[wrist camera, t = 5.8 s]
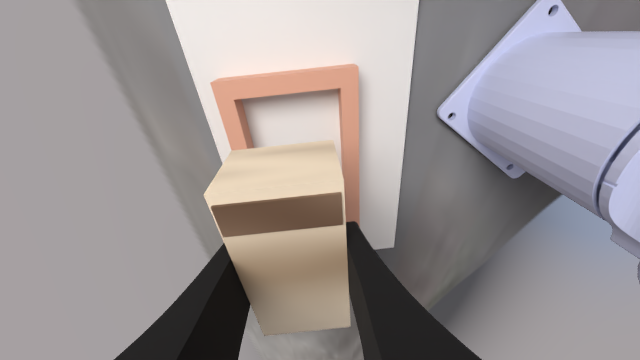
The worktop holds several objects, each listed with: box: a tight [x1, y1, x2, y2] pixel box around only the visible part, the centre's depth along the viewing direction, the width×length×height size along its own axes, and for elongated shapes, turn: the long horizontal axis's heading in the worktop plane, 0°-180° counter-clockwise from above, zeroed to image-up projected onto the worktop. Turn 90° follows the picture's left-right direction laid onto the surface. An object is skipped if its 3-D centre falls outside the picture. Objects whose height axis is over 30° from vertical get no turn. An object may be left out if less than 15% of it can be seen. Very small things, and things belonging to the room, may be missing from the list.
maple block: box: [204, 140, 351, 336], centre depth 10 cm, size 8×4×3 cm, turn 5°
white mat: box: [166, 0, 419, 250], centre depth 16 cm, size 13×26×1 cm, turn 5°
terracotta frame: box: [210, 64, 360, 227], centre depth 17 cm, size 12×8×2 cm, turn 5°
